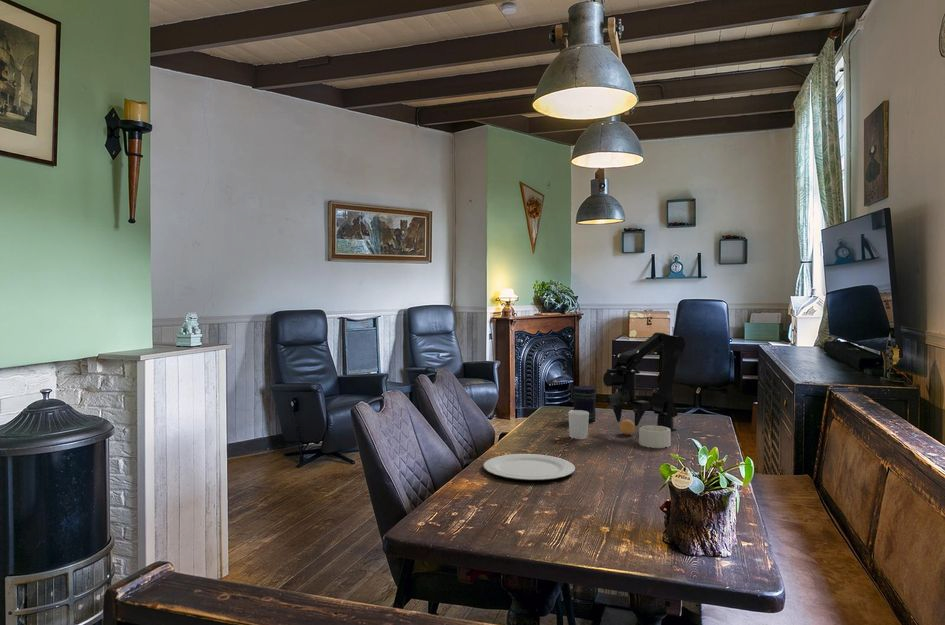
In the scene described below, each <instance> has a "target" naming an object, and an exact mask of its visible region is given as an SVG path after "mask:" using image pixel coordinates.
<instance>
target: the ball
mask: <svg viewBox="0 0 945 625" xmlns="http://www.w3.org/2000/svg"><path fill="white" fill-rule="evenodd" d="M635 429H636V426H635V422H633V421H632V420H631V419H629V418H628V419H623V420H622V421H620V423H619V431H620V432H621V433H622V434H624V435H627V436H628V435H632V434H633V433H634V432H635Z"/></svg>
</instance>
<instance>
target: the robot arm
mask: <svg viewBox="0 0 945 625" xmlns="http://www.w3.org/2000/svg"><path fill="white" fill-rule="evenodd" d="M661 345H663V351H664V356H665V357H664V362H663V368H662V371H661V377H660V382H659V387H658V389H657V391H656V392H652V394H651V400H650V401H649V400H648V401H647V400H638V397H636V391H638V387H636V375H639V374H641V372H640V370H638V369H637V367H638V366H639V365H640V364H641V363H642V360H643V358H644V357H645V356H647V355H648V354H650V353H651V352H652V351H654V350H655V349H656V348H658V347H659V346H661ZM685 346H686V340H685V338H684V337H683V336H681V335H671V334H666V333H665V332H657V331H656V332H654V333H653V334H652V335H651V336H650V337H649V338H647V339H645V341H643V342H641V343H640V344H639V345H638V346H636V347H635V348H633V349H630V350H627V351H624V352H622V353H620V354H619V356H618V359H617V361H616V362H615V364H614V366H613V367H612V369H611V368H607V369H606V372H605V373H604V374H603V377H602V380H603V384H604V386H606V387H607V388H608V387H609V388H610V387H618V388H617V391H616V392H615V393H613V394H611V395H608V396H606V398H605V403H606V404H607V405H608V406H609V407H610V408H612V410H613V412H614V415H615V418H616V422H617V423H619V422H620V423H621V419H622V418H621V417H622V413H623V406H624V405H628V406H631V407H633V409H632V411H633V413H634V425H635V427H637V426H639V424H640V422H641V420H642V417H643V416H644V414H645V413H646V411H648V410H650V409H651V407H652V409H653V414H654V415H657V421H656V423H657V424H656V426H663V427H667V428H669V429H671V432H673V431H677V428H675V427H674V418H676V417H678V414H679V410H678V409H677V408H676V406H674V396H673V393H672V389H673V385H674V379H675V375H676V369H677V364H678V359H679V357H680V356H681V355H682V354H683V352H684V350H685Z"/></svg>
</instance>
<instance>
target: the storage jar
mask: <svg viewBox="0 0 945 625" xmlns="http://www.w3.org/2000/svg"><path fill="white" fill-rule="evenodd" d="M572 394H573V410H582V411H587V412H589V420H588V424H594V423H593V422H595V423H596V416H597V414H596V400H597V398H596V397H597V387H594V386H589V385H575V386H573V393H572Z"/></svg>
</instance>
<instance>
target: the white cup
mask: <svg viewBox="0 0 945 625" xmlns="http://www.w3.org/2000/svg"><path fill="white" fill-rule="evenodd" d="M588 420H589V412H587V411H582V410H569V411H568V430H569V438H570V437H571V439H573V438H575V439H574V440H586V439H587V438H588V431H589V423H588ZM585 438H586V439H585Z"/></svg>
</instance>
